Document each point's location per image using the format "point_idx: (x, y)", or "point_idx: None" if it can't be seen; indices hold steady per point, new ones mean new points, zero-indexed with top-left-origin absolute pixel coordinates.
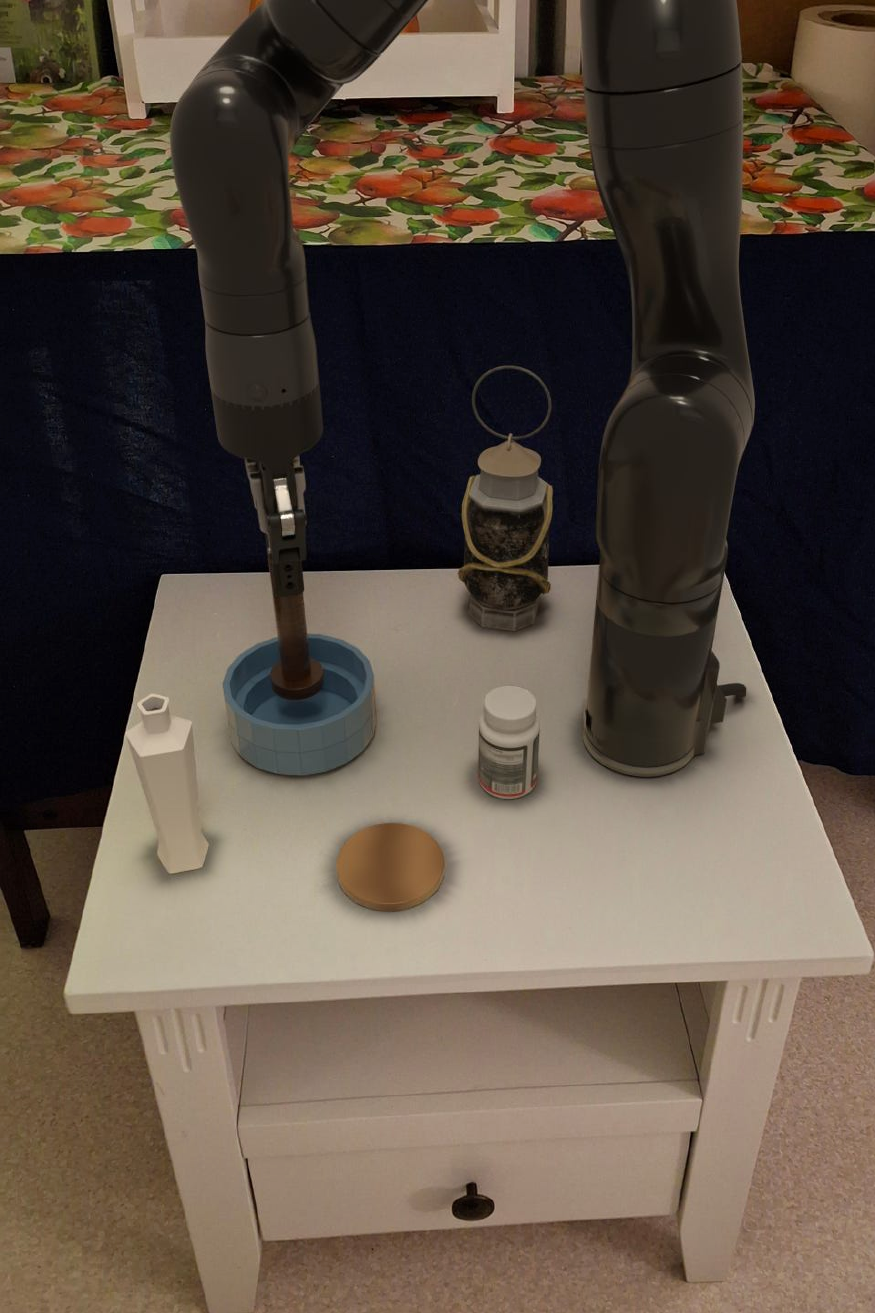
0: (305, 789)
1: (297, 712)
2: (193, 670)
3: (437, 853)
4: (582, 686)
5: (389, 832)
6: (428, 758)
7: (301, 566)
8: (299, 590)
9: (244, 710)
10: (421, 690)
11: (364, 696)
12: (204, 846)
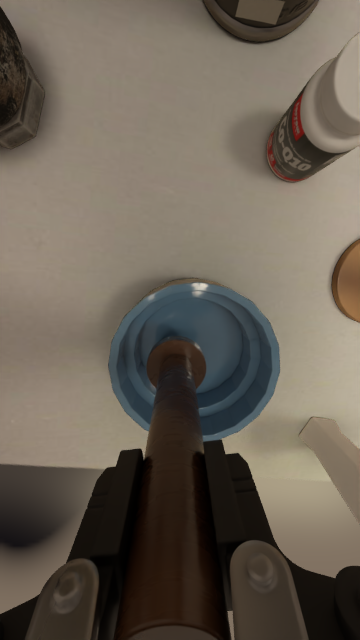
0: None
1: None
2: (98, 436)
3: None
4: (157, 19)
5: (349, 277)
6: (248, 230)
7: (235, 495)
8: (241, 457)
9: None
10: (145, 226)
11: (238, 296)
12: (323, 422)
